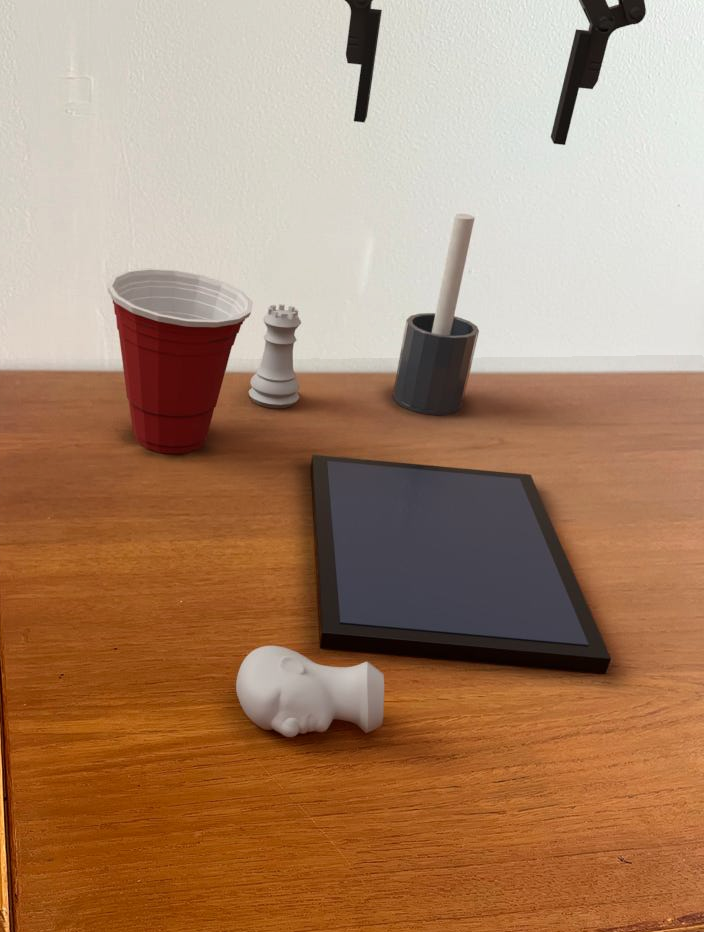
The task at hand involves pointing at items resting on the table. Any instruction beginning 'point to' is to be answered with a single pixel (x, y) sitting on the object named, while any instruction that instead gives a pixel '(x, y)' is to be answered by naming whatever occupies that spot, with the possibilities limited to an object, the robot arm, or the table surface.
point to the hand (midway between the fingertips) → (457, 130)
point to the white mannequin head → (307, 692)
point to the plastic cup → (174, 351)
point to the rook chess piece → (277, 361)
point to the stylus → (453, 273)
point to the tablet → (445, 567)
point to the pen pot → (434, 365)
